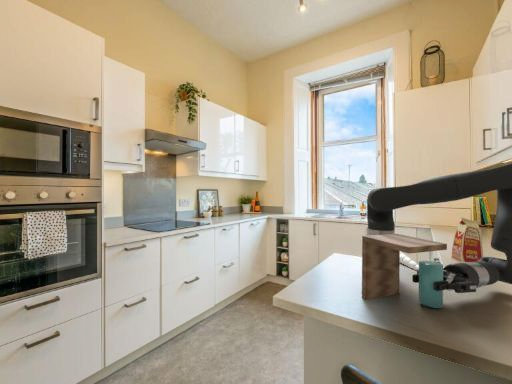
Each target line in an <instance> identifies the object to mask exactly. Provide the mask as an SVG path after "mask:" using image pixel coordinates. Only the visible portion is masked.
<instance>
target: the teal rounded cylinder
mask: <svg viewBox="0 0 512 384" xmlns="http://www.w3.org/2000/svg"><path fill="white" fill-rule="evenodd" d="M418 265H419V282H418V303H420V304H422V305H424V306H426V307H428V308H429V307H430V308H435V309H440V308H443V307H444V290H441V291H435V290H434V282H438V281H443V269H444V264H443V263H440V262H436V261H431V260H420V261H418Z"/></svg>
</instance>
